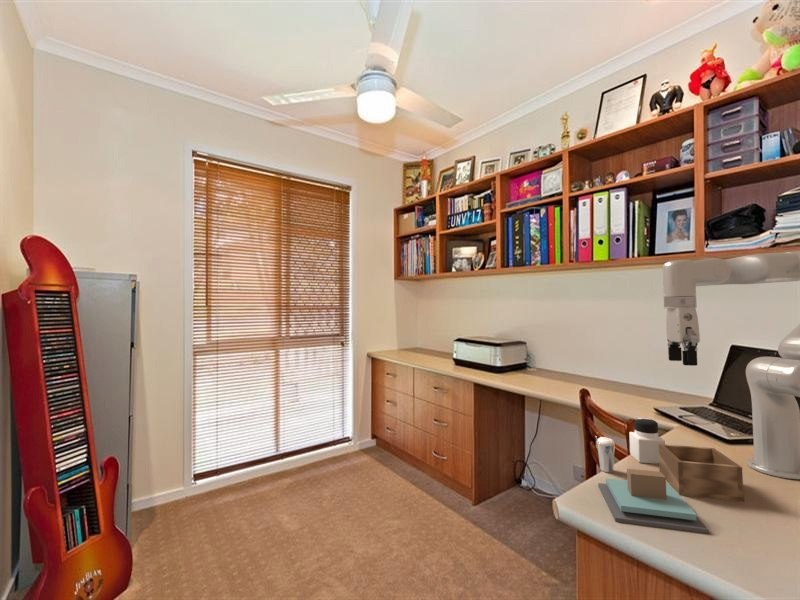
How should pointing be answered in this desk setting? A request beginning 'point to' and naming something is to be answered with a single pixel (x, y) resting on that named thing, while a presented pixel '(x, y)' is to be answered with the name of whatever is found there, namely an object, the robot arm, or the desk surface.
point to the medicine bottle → (645, 441)
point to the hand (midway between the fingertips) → (682, 362)
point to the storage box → (701, 472)
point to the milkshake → (606, 454)
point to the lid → (648, 495)
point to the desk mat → (649, 516)
